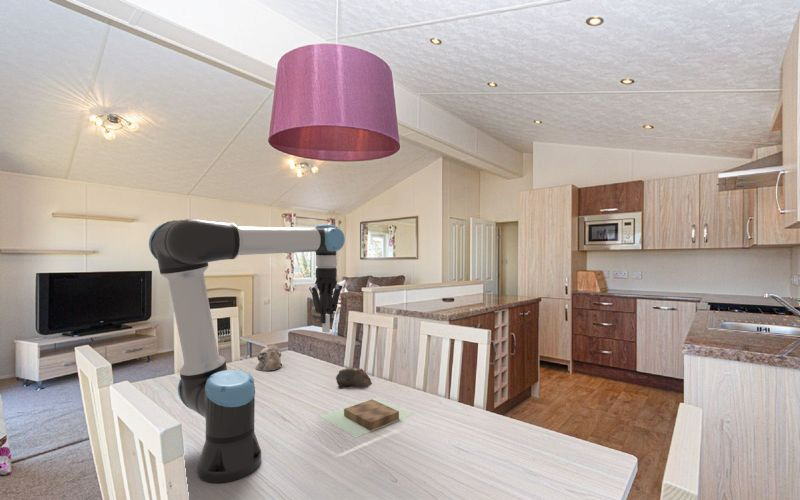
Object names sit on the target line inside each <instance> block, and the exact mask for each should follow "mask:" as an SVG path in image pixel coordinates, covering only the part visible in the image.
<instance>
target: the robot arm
mask: <svg viewBox="0 0 800 500" xmlns="http://www.w3.org/2000/svg"><path fill="white" fill-rule="evenodd" d="M344 245H345V234H344V232H343V230H341V229H340V228H338V227H337V226H335V225H333V224H317V225H316V226H315V227H289V226H287V227H285V226H284V227H282V226H281V227H279V226H277V227H276V226H275V227H274V226H269V227H268V226H266V227H265V226H238V225H237V224H235V223H234V222H221V221H220V222H219V221H210V220H206V219H205V220H204V219H197V218H186V219H179V220H178V219H177V220H170V221H166V222H165V223H162V224H159V225H158V226H157V227H155V229H154V230H153V231H152V232H151V234H150V236H149V240H148V248H149V251H150V253H151V254H152V256H153V258H154V259H156V260H157V265H158V268H159V274H160V275H161V276H162V277H164V278H166V280H167V282H168V286H169V290H170V295H171V296H170V297H171V300H172V301H171V302H172V306H173V310H174V311H173V312H174V317H175V322H176V326H177V331H178V336H179V343H180V347H181V352H182V357H183V365H182V366H181V368H180V369H179V376H180V379H179V381H178V384H177V393H178V397H179V399H180V401H181V402H182V404H184V406H186V407H187V408H188V409H190V410H192V411H194V412H195V413H197V414H199V416H201V417H203V418H204V419H205V442H204V444H203V447H202V450H201V454H200V456H199V458H198V459H199V460H198V463H197V476H198V478H199V479H200V480H202V481H204V482H207V483H213V484H214V483H215V484H219V483H220V484H222V483H229V482H233V481H236V480H240V479H243V478H244V477H247V476H249V475H250V474H251V473H253V472H255V471H256V470H257V469H258V468H259V467H260V465H261V463H262V449H261V446H260V443H259V441H258V439H257V435H256V432H255V412H256V411H255V407H256V406H255V405H256V403H255V402H256V401H255V399H256V398H255V397H256V396H255V395H256V387H255V379H254V377H253V375H251V374H250V373H248V372H247V371H245V370H236V369H228V366H227V362H226V358H225V357H224V356H222V355H221V354H219V351H218V346H217V339H216V336H215V335H216V334H215V328H214V324H213V317H212V312H211V308H210V307H211V306H210V302H209V296H208V290H207V286H206V285H207V284H206V278H205V274H204V273H205V272H206V270H207V269H208V268H209V263H212V262H218V261H225V260H235V259H236V258H238V256H247V255H252V256H253V255H270V254H289V253H290V254H293V253H309V252H310V253H311V252H313V253H315V267H316V268H315V278H316V279H315V282H314V285H312V286H310V287H309V288H308V289H309V292H310V293H311V297H312V301H313V306H314V311H315V313H317V314H320V324H322V328H321V330H322V333H330V331H331V328H330V327H331V323H332V319H333V318H332V316H333V314H334V313H335V312H337V309H338V304H339V299H340V294H341V291H342V289H343V286H342V285H341V284H339V283H338V281H337V277H338V276H337V275H338V274H337V273H338V271H337V270H338V269H337V266H338V265H337V264H338V262H337V261H338V259H337V257H338V255H337V251H340V250H341V249H343V247H344Z"/></svg>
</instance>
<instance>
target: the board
mask: <svg viewBox="0 0 800 500" xmlns="http://www.w3.org/2000/svg"><path fill="white" fill-rule="evenodd" d="M370 399H371V400H370ZM370 399H367V400H368V401H367V400H364V401H365V402H364V401H361V402H362V403H361V402H359V403H360V404H358V403H356V404H357V405H355V404H353V405H354V406H352V405H350V406H351V407H349V406H347V407H348V408H346V407H344V408H345V409H344V416H345V417H347V418H348V419H350V420H352V421H354V422H356V423H357V424H359V425H361V426H363V427H365V428H366V429H368V430H370V431H371V430H373V429H375V428H378V427H380V426H383V425H385V424H388V423H390V422H393V421H395V420H398V419H399V411H397V410H395V409H393V408H390V407H388V406H386V405H384V404H382V403H379V402H377V401H375V400H373V398H370ZM398 421H399V420H398ZM395 422H396V421H395ZM393 423H394V422H393ZM388 425H389V424H388ZM383 427H384V426H383ZM378 429H379V428H378ZM373 431H374V430H373ZM371 432H372V431H371Z"/></svg>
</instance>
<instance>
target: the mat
mask: <svg viewBox="0 0 800 500" xmlns="http://www.w3.org/2000/svg"><path fill="white" fill-rule="evenodd" d="M371 399H373V400H375V401H377V402H379V403H382V404H384V405H386V406H388V407H390V408H393V409H395V410H397V411H399V419H398V420H395V421H393V422H390V423H388V424H385V425H383V426H380V427H378V428H375V429H373V430H371V431H370V430H368V429H366V428H365V427H363V426H361V425H359V424H357V423H356V422H354V421H352V420H350V419H348V418H347V417H345V416H344V409H345V408H348V407H351V406H354V405H357V404H360V403H362V402H365V401H368V400H371ZM412 415H414V414H413V413H411V412H409V411H407V410H405V409H402V408H400V407H397V406H396V405H393V404H391V403H389V402H386V401H384V400H382V399H380V398H377V397H373V398H370V399H367V400H363V401H361V402H358V403H354V404H353V405H349V406H346V407H343V408H340V409H337V410H334V411H331V412H327V413H325V414H322V415H319V417H320V418H322V419H323V420H325V421H327V422H329V423H330V424H332V425H334V426H335V427H336V428H337V429H340V430H342V431H343V432H345V433H347V434H348V435H350V436H352V437H353V438H359V437H360V436H364V435H366V434H369V433H370V432H373V431H376V430H378V429H380V428H383V427H385V426H388V425H390V424H392V423H395V422H397V421H401V420H403V419H404V418H407V417H410V416H412Z"/></svg>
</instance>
